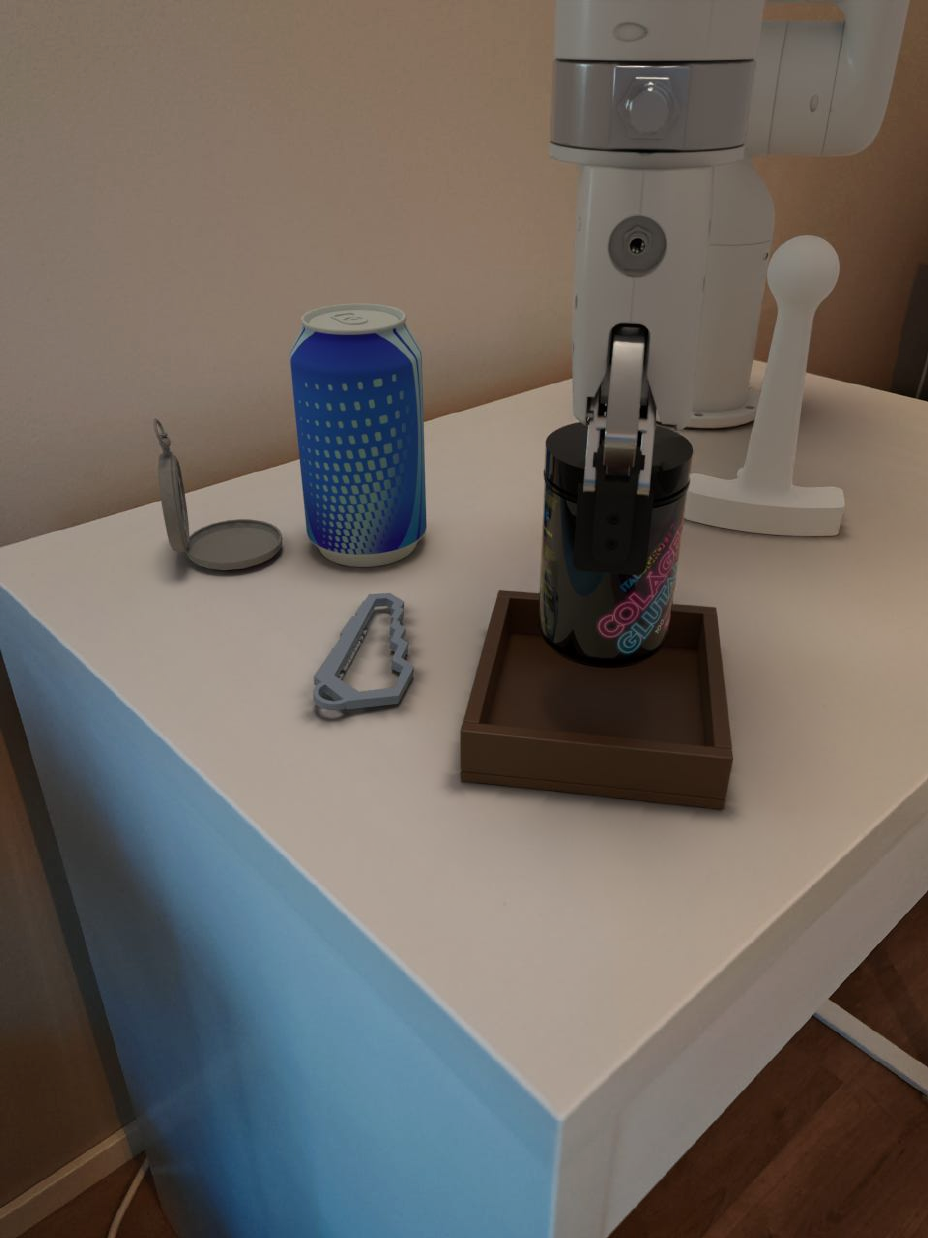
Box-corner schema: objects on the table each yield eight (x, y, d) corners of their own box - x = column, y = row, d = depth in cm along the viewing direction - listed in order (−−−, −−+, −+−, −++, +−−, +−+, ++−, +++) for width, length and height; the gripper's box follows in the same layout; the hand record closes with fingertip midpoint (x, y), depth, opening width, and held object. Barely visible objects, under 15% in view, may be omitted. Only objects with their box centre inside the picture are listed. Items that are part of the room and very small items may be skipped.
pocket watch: (302, 551, 68) (288, 414, 63) (200, 595, 63) (176, 450, 57) (233, 516, 73) (215, 386, 67) (133, 555, 67) (105, 417, 62)
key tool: (440, 614, 61) (364, 600, 61) (441, 602, 60) (364, 588, 61) (391, 730, 51) (301, 712, 52) (392, 716, 50) (301, 698, 51)
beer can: (433, 520, 72) (429, 300, 63) (418, 575, 65) (410, 335, 56) (323, 516, 73) (303, 298, 64) (295, 569, 65) (269, 332, 57)
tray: (497, 633, 59) (498, 589, 57) (709, 651, 57) (716, 606, 55) (460, 781, 47) (459, 731, 46) (724, 810, 45) (733, 759, 44)
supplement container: (569, 685, 46) (583, 483, 40) (516, 615, 51) (522, 428, 46) (694, 659, 48) (723, 462, 42) (629, 594, 53) (648, 412, 48)
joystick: (681, 524, 71) (718, 237, 61) (688, 484, 77) (722, 217, 67) (839, 541, 69) (906, 246, 58) (834, 498, 75) (893, 224, 64)
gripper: (772, 139, 29) (698, 635, 39) (732, 101, 44) (686, 467, 53) (526, 136, 30) (512, 619, 40) (567, 99, 45) (550, 459, 54)
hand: (612, 529), depth 46 cm, fingers closed on supplement container, 6 cm apart
